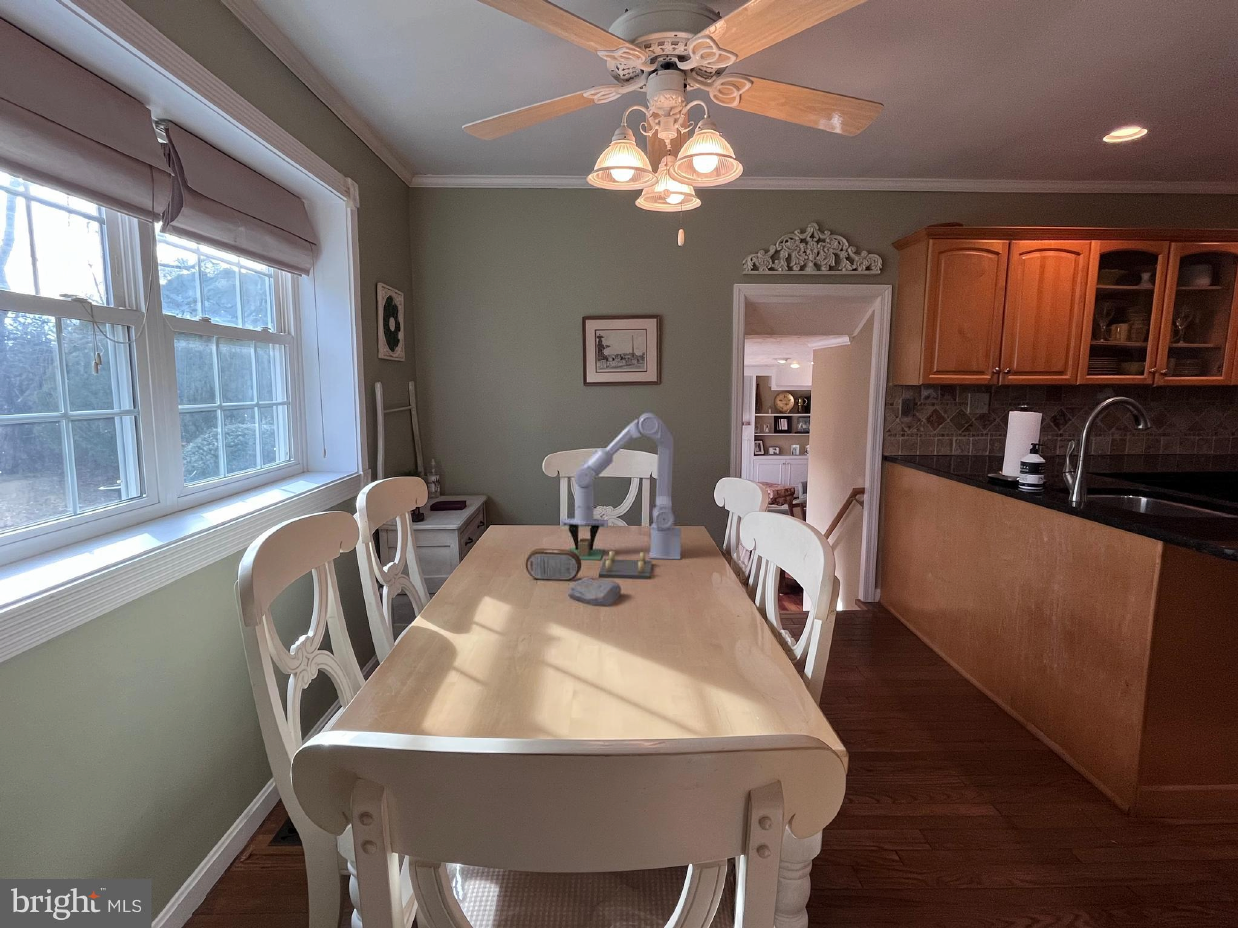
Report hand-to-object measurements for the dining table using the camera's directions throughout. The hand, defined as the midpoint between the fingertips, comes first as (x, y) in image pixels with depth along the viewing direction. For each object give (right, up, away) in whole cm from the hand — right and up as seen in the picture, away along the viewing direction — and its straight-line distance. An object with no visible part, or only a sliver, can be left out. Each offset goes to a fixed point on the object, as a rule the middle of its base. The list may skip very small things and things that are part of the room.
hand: (584, 549), depth 189 cm
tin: (-7, -5, -23) cm, 25 cm away
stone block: (+4, -8, -37) cm, 38 cm away
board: (0, -2, 0) cm, 2 cm away
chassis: (+13, -4, -15) cm, 20 cm away
